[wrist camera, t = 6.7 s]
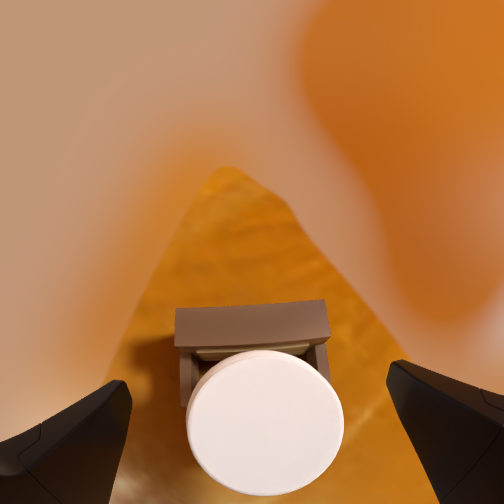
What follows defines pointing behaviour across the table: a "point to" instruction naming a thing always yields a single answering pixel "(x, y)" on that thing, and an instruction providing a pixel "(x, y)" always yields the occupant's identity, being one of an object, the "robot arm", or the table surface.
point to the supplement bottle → (264, 423)
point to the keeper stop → (249, 335)
